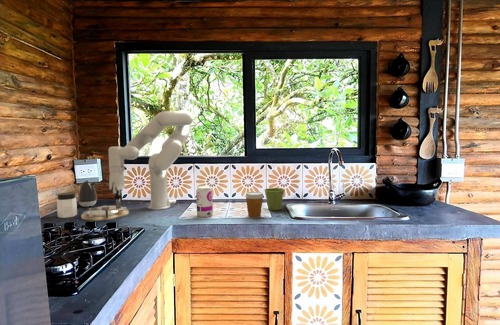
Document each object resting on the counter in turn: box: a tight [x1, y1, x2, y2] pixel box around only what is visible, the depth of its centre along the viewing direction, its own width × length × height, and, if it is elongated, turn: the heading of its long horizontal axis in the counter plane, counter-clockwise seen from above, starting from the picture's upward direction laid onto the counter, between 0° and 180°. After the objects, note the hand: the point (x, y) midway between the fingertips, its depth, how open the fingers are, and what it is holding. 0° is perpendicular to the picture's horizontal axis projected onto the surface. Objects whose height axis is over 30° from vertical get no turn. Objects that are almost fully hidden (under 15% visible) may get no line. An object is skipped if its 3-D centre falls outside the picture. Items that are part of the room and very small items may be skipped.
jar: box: [56, 191, 78, 219], centre depth 169 cm, size 9×8×12 cm
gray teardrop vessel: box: [77, 180, 98, 208], centre depth 193 cm, size 10×10×15 cm
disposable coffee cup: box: [244, 191, 265, 218], centre depth 165 cm, size 10×10×12 cm
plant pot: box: [263, 187, 286, 211], centre depth 180 cm, size 12×12×11 cm
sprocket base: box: [80, 208, 130, 222], centre depth 171 cm, size 23×23×5 cm
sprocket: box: [83, 199, 127, 217], centre depth 170 cm, size 21×21×6 cm
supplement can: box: [195, 185, 214, 218], centre depth 167 cm, size 8×8×15 cm
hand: (118, 202), depth 176 cm, fingers closed
